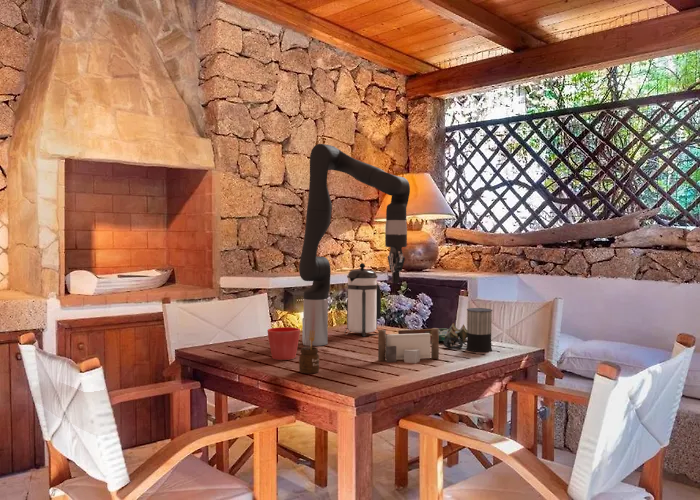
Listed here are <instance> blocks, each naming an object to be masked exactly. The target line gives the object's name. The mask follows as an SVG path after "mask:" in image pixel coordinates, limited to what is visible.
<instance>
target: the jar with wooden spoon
mask: <svg viewBox="0 0 700 500" xmlns="http://www.w3.org/2000/svg"><path fill="white" fill-rule="evenodd" d="M314 335H315V330H314V334H313V330H312V335H311V330H310V336H305V337H309V339H308V340H310V345H309V346H307V345H306V344H305V345H304V344H303V343H302V344H303V347H301V348H300V352H299V353H300V354H299V361H298V365H299V367H298V368H299V369H298V370H299V372H300V373H301V374H307V375H308V374H309V375H310V374H316V373H319V371H320V356H319V354H318V353H319V349H318V347H315V346H314V347H313V346H312V341H314ZM312 336H313V338H312ZM310 337H311V338H310ZM303 339H304V338H303Z"/></svg>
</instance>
